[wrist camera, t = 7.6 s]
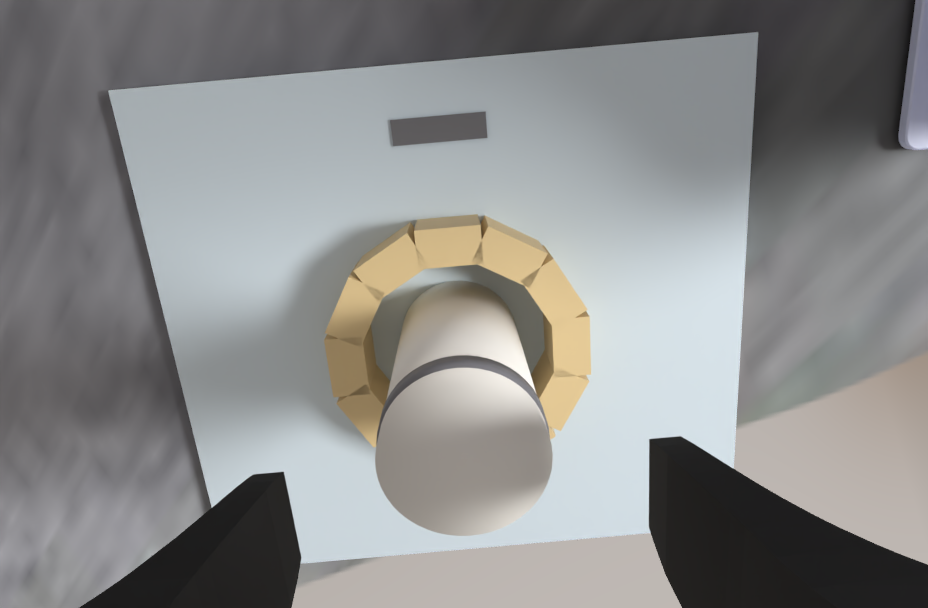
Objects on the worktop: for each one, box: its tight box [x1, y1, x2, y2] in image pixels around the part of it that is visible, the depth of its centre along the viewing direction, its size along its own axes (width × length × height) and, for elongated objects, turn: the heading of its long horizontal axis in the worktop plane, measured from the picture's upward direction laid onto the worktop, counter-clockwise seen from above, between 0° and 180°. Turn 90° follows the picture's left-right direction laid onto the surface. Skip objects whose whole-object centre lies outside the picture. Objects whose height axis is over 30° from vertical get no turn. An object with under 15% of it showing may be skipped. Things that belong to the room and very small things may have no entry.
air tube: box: [375, 281, 553, 536], centre depth 17 cm, size 4×4×8 cm
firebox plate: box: [108, 32, 758, 564], centre depth 21 cm, size 20×18×3 cm
